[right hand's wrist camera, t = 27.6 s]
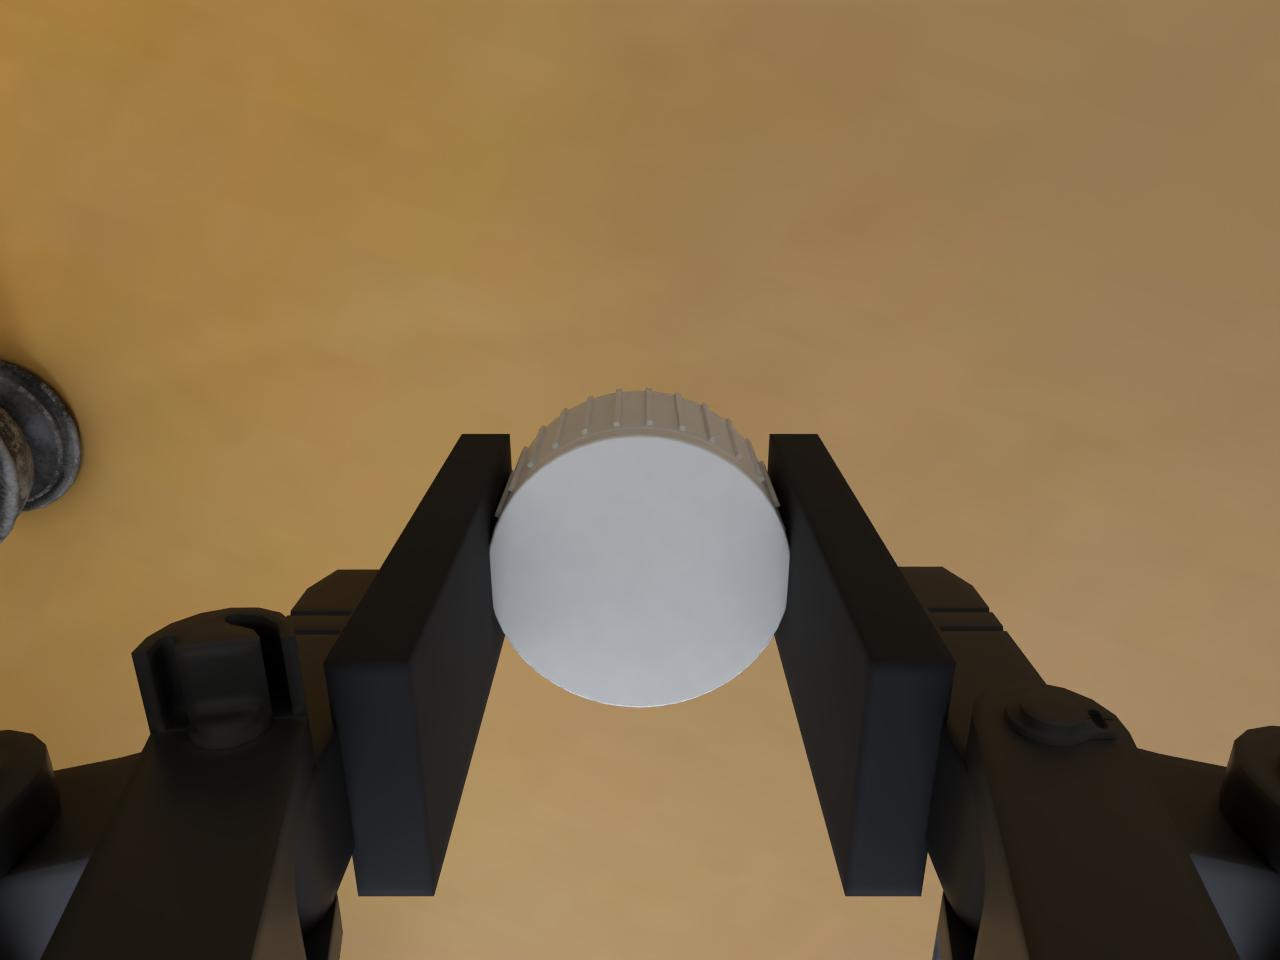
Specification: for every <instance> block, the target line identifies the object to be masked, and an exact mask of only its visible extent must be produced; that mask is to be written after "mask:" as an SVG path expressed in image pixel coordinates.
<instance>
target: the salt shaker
mask: <svg viewBox="0 0 1280 960" xmlns="http://www.w3.org/2000/svg"><path fill="white" fill-rule="evenodd" d="M80 455H81V445H80V441H79V436H78V432H77V428H76V425H75V423H74V421H73V419H72V418H71V416H70V414H69V412H68V410H67V408H66V406H65V405H64V404H63V403H62V401H61V400H60V399H59V398H58V397H57V395H56V394H55V393H54V392H53V391H52V389H50V388H49V387H48V386H47V385H45V384H44V383H43V382H42V381H40V380H39V379H38V378H37V377H35V376H34V375H33V374H31V373H29V372H27V371H25V370H23V369H21V368H19V367H17V366H15V365H13V364H11V363H7V362H3V361H0V544H1V542H2V541H3V540H4V539H5V538H6V536H7V535H8V534H9V533H10V531H11V530H12V529H13V526H14V523H15V520H16V518H17V517H18V515H19V514H20V513H21V512H22V511H29V510H33V509H37V508H41V507H45V506H47V505H48V504H50V503H52V502H53V501H55V500H57V499H58V498H60V497H61V496H63V495H64V493H65V492H66V491H67V490H68V489H69V487H70V486H71V485H72V484H73V483H74V480H75V478H76V475H77V472H78V470H79V467H80Z"/></svg>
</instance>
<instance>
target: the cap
mask: <svg viewBox="0 0 1280 960" xmlns="http://www.w3.org/2000/svg"><path fill="white" fill-rule="evenodd" d="M779 506H780V503H779V501H778V498H777V496H776V493H775V490H774V488H773V485H772V483H771V480H770V477H769V475H768V472H767V470H766V467H765V465H764V462H763V461H761V462H759V461H758V459H757V457H756V455H755V452H754V449H753V446H752V444H751V441H750V440H749V439H748V438H747V439H744V438H743V437H742V436H741V435H740V434H739V433H738V432H737V431H736V429H735V428H734V427H733V424H732V421H731V420H730V419H728V418H727V419H726V420H724V419H723V418H722V417H720V416H719V415H717V414H715V413H714V412H712V411H711V410H709V408H708V405H707V404H705V403H703V404H702V406H701V405H699V404H697V403H695V402H693V401H691V400H688V399H685V398H681V394H679V393H675V395H671V394H665V393H659V392H652V389H651V388H646V391H630V392H622V389H619V390H616V393H614V394H609V395H604V396H600V397H597V398H595V399H594V398H593V396H590V397H588V399H587V401H586V402H584V403H582V404H580V405H578V406H576V407H574V408H572V409H570V410H567V408H565V409H563V410H562V412H561V415H560V416H559V417H558V418H556V419H555V420H554V421H553V422H551V423H550V424H549V425H548V426H547V427H545V426H544V425H543V426H542V427H541V428H540V429H539V432H538V435H537V437H536V439H535V440H534V441H533V442H532V443H531V445H530V446H529V448H527V447H526V446H525V447H524V448H523V450H522V452H521V455H520V458H519V460H518V463H517V465H516V468H515V471H513V470H512V472H511V475H510V477H509V480H508V482H507V485H506V487H505V490H504V492H503V495H502V498H501V500H500V503H499V505H498V508H497V510H496V513H495V517H498V520H497V523H496V525H495V528H494V532H493V535H492V538H491V542H490V547H489V551H490V568H491V583H492V598H493V608H494V612H495V615H496V617H497V620H498V622H499V624H500V626H501V628H502V630H503V632H504V634H505V635H506V637H507V638H508V640H509V641H510V643H511V644H512V646H513V647H514V649H515V650H516V651H517V652H518V653H519V654H520V656H521V657H522V658H523V659H524V660H525V661H526V662H527V663H528V664H529V665H530V666H531V667H532V668H534V669H535V670H536V671H537V672H538V673H539V674H541V675H542V676H544V677H545V678H546V679H548V680H549V681H551V682H552V683H554V684H555V685H557V686H559V687H561V688H563V689H565V690H567V691H568V692H571V693H573V694H576V695H578V696H581V697H583V698H586V699H589V700H593V701H596V702H600V703H604V704H610V705H616V706H623V707H654V706H663V705H669V704H675V703H679V702H683V701H686V700H690V699H693V698H696V697H699V696H701V695H703V694H706V693H708V692H710V691H713V690H715V689H716V688H718V687H720V686H722V685H723V684H725V683H727V682H729V681H730V680H731V679H733V678H734V677H735V676H737V675H738V674H739V673H741V672H742V671H743V670H745V669H746V668H747V667H748V666H749V665H750V664H751V663H752V662H753V661H754V660H755V659H756V658H757V657H758V656H759V654H760V653H761V652H762V651H763V649H764V648H765V647H766V646H767V645H768V643H769V641H770V640H771V638H772V637H773V635H774V633H775V632H776V630H777V628H778V626H779V624H780V622H781V619H782V617H783V615H784V612H785V609H786V603H787V589H788V574H789V559H790V548H789V542H788V539H787V535H786V532H785V530H786V529H785V527H784V524H783V521H782V519H781V516H780V513H779V511H778V508H777V507H779Z"/></svg>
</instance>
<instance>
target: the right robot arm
mask: <svg viewBox="0 0 1280 960" xmlns="http://www.w3.org/2000/svg"><path fill="white" fill-rule="evenodd" d="M511 472H512V466H511V448H510V434H462V435H461V437H460V438H459V440H458V441H457V443H456V445H455V446H454V448H453V450H452V451H451V453H450V455H449V456H448V458H447V460H446V461H445V463H444V464H443V466H442V468H441V469H440V471H439V473H438V474H437V476H436V478H435V479H434V481H433V483H432V484H431V486H430V488H429V489H428V491H427V492H426V494H425V496H424V497H423V499H422V501H421V502H420V504H419V506H418V507H417V509H416V511H415V512H414V514H413V515H412V517H411V519H410V520H409V522H408V524H407V525H406V527H405V529H404V530H403V532H402V534H401V535H400V537H399V539H398V540H397V542H396V543H395V545H394V547H393V548H392V550H391V552H390V553H389V555H388V557H387V558H386V560H385V562H384V563H383V565H382V566H381V568H380V570H336V571H335V572H333V573H332V574H330V575H328V576H327V577H325V578H324V579H322V580H320V581H319V582H317V583H316V584H314V585H313V586H311V587H309V588H308V589H307V590H306V591H305V593H304V594H303V595H302V597H301V598H300V599H299V601H298V602H297V603H296V605H295V606H294V607H293V609H292V610H291V615H290V616H287V617H285V616H284V615H283V614H282V613H279V612H275V611H271V610H267V609H263V608H227V609H222V610H216V611H210V612H205V613H200V614H197V615H194V616H191V617H188V618H185V619H183V620H180V621H177V622H174V623H171V624H169V625H168V626H166V627H164V628H162V629H161V630H159V631H157V632H155V633H154V634H152V635H150V636H148V637H147V638H146V639H145V640H144V641H143V642H142V643H141V644H140V645H139V646H138V647H137V648H136V649H135V650H134V651H133V652H132V653H131V654H132V659H133V663H134V667H135V671H136V675H137V679H138V683H139V688H140V692H141V696H142V700H143V704H144V708H145V713H146V717H147V721H148V725H149V729H150V733H151V734H150V736H149V738H148V740H147V742H146V744H145V746H144V748H143V750H142V752H141V753H137V754H133V755H129V756H125V757H122V758H117V759H112V760H107V761H102V762H97V763H92V764H87V765H82V766H77V767H72V768H67V769H61V770H56V771H53V767H52V764H51V761H50V757H49V754H48V750H47V747H46V744H44V743H43V742H42V741H41V740H40V739H38V738H37V737H36V736H35V735H34V734H30V733H24V732H19V731H13V730H2V731H0V960H339V958H340V950H341V942H342V934H343V930H342V922H341V915H340V908H339V902H338V896H337V891H338V888H339V886H340V883H341V881H342V878H343V876H344V873H345V871H346V868H347V866H348V863H349V861H350V858H351V856H352V857H353V864H354V870H355V877H356V884H357V890H358V896H434V894H435V891H436V887H437V883H438V880H439V876H440V872H441V869H442V865H443V861H444V858H445V854H446V850H447V847H448V843H449V839H450V836H451V832H452V828H453V825H454V821H455V817H456V814H457V810H458V806H459V803H460V799H461V795H462V792H463V788H464V784H465V781H466V777H467V773H468V769H469V766H470V762H471V758H472V755H473V751H474V747H475V744H476V740H477V736H478V733H479V729H480V725H481V722H482V718H483V714H484V711H485V707H486V703H487V700H488V696H489V692H490V689H491V685H492V681H493V678H494V674H495V670H496V667H497V663H498V659H499V656H500V652H501V648H502V645H503V641H504V637H505V634H504V632H503V630H502V628H501V626H500V624H499V622H498V620H497V617H496V615H495V612H494V608H493V598H492V583H491V568H490V551H489V547H490V542H491V538H492V535H493V532H494V528H495V525H496V523H497V520H498V517H495V513H496V510H497V508H498V505H499V503H500V500H501V498H502V495H503V492H504V490H505V487H506V485H507V482H508V480H509V477H510V475H511ZM768 475H769V477H770V480H771V483H772V485H773V488H774V490H775V493H776V496H777V498H778V501H779V503H780V506H779V507H777V508H778V511H779V513H780V516H781V519H782V521H783V524H784V527H785V529H786V530H785V532H786V535H787V539H788V542H789V548H790V559H789V574H788V589H787V603H786V609H785V612H784V615H783V617H782V619H781V622H780V624H779V626H778V628H777V630H776V632H775V633H774V636H775V639H776V643H777V647H778V650H779V654H780V658H781V661H782V665H783V669H784V672H785V676H786V680H787V683H788V687H789V691H790V694H791V698H792V702H793V705H794V709H795V713H796V716H797V720H798V724H799V728H800V731H801V735H802V739H803V742H804V746H805V750H806V753H807V757H808V761H809V764H810V768H811V772H812V775H813V779H814V783H815V786H816V790H817V794H818V797H819V801H820V805H821V808H822V812H823V816H824V819H825V823H826V827H827V830H828V834H829V838H830V841H831V845H832V849H833V852H834V856H835V860H836V863H837V867H838V871H839V874H840V878H841V882H842V886H843V889H844V893H845V896H921V893H922V886H923V880H924V873H925V866H926V860H927V853H929V855H930V858H931V860H932V863H933V865H934V868H935V870H936V873H937V875H938V878H939V880H940V883H941V885H942V888H943V896H942V902H941V908H940V915H939V921H938V927H937V933H936V939H935V946H934V952H933V958H932V960H1280V726H1267V727H1261V728H1255V729H1249V730H1247V731H1245V732H1244V733H1243V734H1242V735H1241V736H1239V737H1238V738H1237V739H1236V740H1235V741H1234V744H1233V748H1232V751H1231V754H1230V758H1229V761H1228V765H1227V767H1224V766H1219V765H1214V764H1208V763H1203V762H1198V761H1193V760H1188V759H1183V758H1178V757H1173V756H1168V755H1163V754H1158V753H1154V752H1150V751H1147V750H1143V749H1139V748H1137V747H1136V745H1135V743H1134V741H1133V739H1132V737H1131V735H1130V733H1129V731H1128V730H1127V729H1126V728H1125V727H1124V725H1123V724H1122V723H1121V722H1120V720H1119V719H1118V718H1117V717H1116V715H1114V714H1113V713H1111V712H1110V711H1108V710H1107V709H1105V708H1104V707H1102V706H1101V705H1100V704H1098V703H1097V702H1095V701H1094V700H1092V699H1090V698H1087V697H1085V696H1082V695H1080V694H1077V693H1075V692H1072V691H1070V690H1067V689H1065V688H1061V687H1056V686H1051V685H1047V684H1046V683H1045V682H1044V680H1043V679H1042V678H1041V676H1040V675H1039V674H1038V672H1037V671H1036V670H1035V668H1034V667H1033V666H1032V664H1031V663H1030V662H1029V660H1028V659H1027V658H1026V656H1025V655H1024V654H1023V652H1022V651H1021V650H1020V648H1019V647H1018V646H1017V644H1016V643H1015V642H1014V640H1013V639H1012V638H1011V636H1010V635H1009V634H1008V632H1007V631H1003V626H1002V624H1001V623H1000V622H999V620H998V619H997V618H996V616H995V615H994V614H993V612H989V607H988V606H987V604H986V603H985V602H984V600H983V599H982V598H981V596H980V595H979V594H978V592H977V591H976V590H975V588H974V587H973V586H972V585H971V584H969V583H967V582H966V581H964V580H963V579H961V578H959V577H958V576H956V575H955V574H953V573H951V572H950V571H948V570H947V569H945V568H943V567H898V566H897V564H896V563H895V561H894V559H893V558H892V556H891V554H890V553H889V551H888V549H887V548H886V546H885V544H884V543H883V541H882V540H881V538H880V536H879V535H878V533H877V531H876V530H875V528H874V526H873V525H872V523H871V521H870V520H869V518H868V516H867V515H866V513H865V512H864V510H863V508H862V507H861V505H860V503H859V502H858V500H857V498H856V497H855V495H854V493H853V492H852V490H851V489H850V487H849V485H848V484H847V482H846V480H845V479H844V477H843V475H842V474H841V472H840V470H839V469H838V467H837V465H836V464H835V462H834V461H833V459H832V457H831V456H830V454H829V452H828V451H827V449H826V447H825V446H824V444H823V442H822V441H821V439H820V437H819V436H818V434H770V438H769V456H768Z"/></svg>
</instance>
